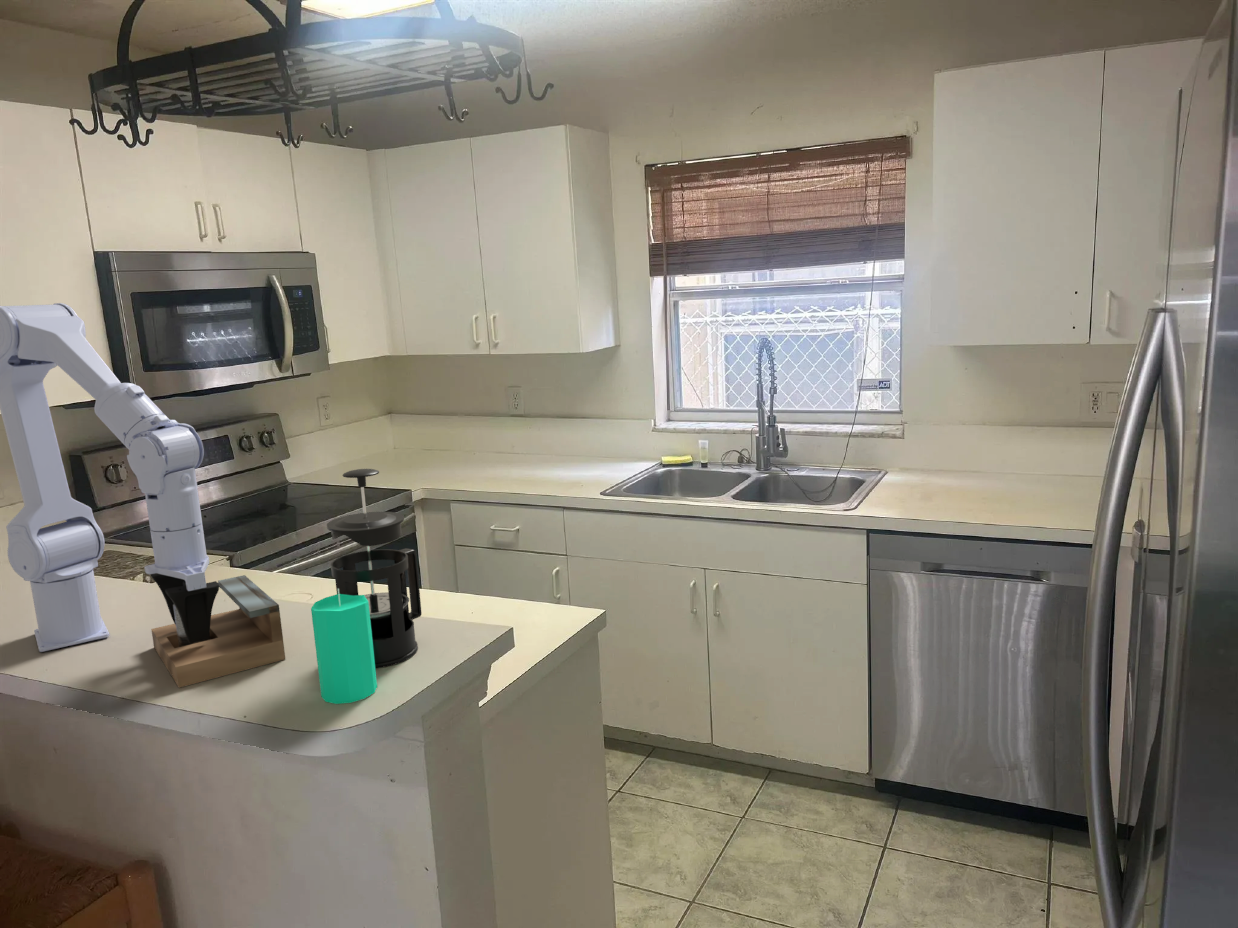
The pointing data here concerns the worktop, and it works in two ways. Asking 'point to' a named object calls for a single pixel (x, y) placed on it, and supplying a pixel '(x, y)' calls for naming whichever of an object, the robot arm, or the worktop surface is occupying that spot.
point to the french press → (380, 577)
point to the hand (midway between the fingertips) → (191, 631)
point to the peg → (182, 630)
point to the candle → (344, 648)
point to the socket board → (226, 638)
